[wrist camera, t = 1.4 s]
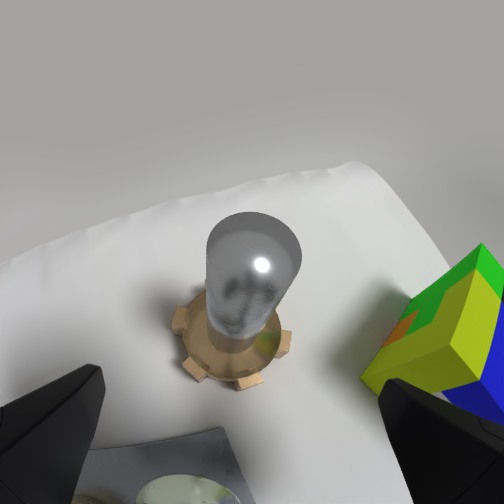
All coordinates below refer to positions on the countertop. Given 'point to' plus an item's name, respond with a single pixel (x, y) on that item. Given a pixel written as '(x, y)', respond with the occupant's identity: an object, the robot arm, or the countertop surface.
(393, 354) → the puzzle toy
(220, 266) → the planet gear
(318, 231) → the countertop surface
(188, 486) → the carrier plate
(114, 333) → the countertop surface
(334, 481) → the countertop surface
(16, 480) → the robot arm
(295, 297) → the countertop surface
